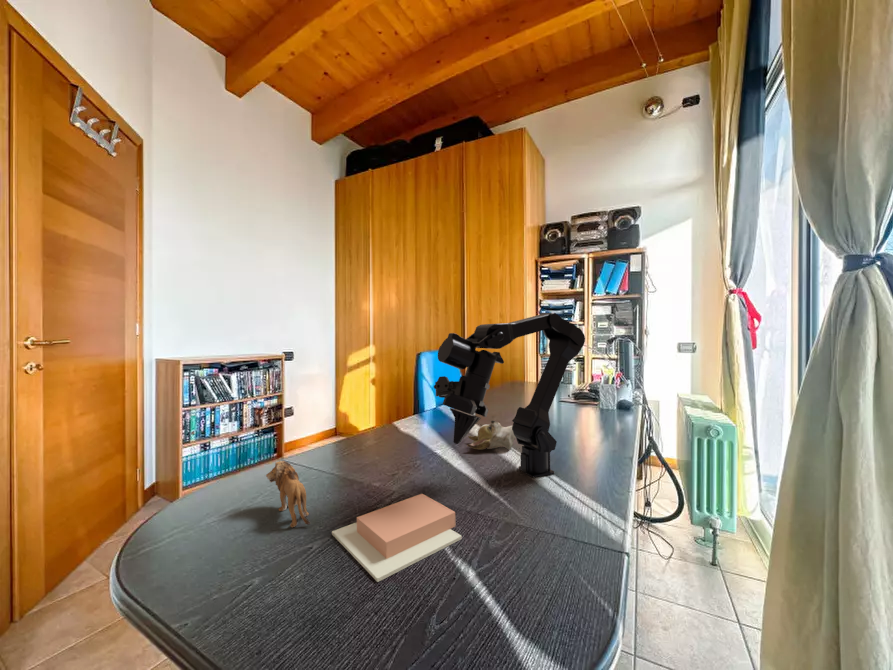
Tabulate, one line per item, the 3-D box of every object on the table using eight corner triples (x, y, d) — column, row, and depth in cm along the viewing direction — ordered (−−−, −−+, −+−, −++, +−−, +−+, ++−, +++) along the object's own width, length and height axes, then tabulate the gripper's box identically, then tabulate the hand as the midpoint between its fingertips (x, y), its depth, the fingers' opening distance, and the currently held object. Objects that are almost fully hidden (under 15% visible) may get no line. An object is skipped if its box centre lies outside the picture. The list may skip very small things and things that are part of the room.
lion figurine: (264, 506, 73) (263, 462, 73) (290, 497, 77) (289, 455, 77) (296, 533, 63) (295, 481, 63) (324, 521, 67) (323, 473, 67)
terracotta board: (421, 493, 71) (356, 517, 62) (455, 512, 63) (386, 542, 54) (422, 506, 71) (356, 531, 62) (455, 526, 63) (386, 558, 54)
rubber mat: (408, 505, 73) (408, 502, 73) (461, 538, 60) (461, 535, 60) (331, 534, 62) (331, 531, 62) (377, 582, 50) (377, 578, 50)
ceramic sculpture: (517, 423, 102) (465, 426, 104) (519, 453, 102) (467, 456, 104) (514, 415, 113) (467, 418, 115) (516, 443, 113) (469, 445, 114)
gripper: (455, 371, 93) (436, 430, 90) (432, 358, 75) (408, 431, 73) (496, 384, 89) (477, 446, 86) (482, 374, 71) (458, 451, 69)
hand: (455, 443), depth 79 cm, fingers closed
